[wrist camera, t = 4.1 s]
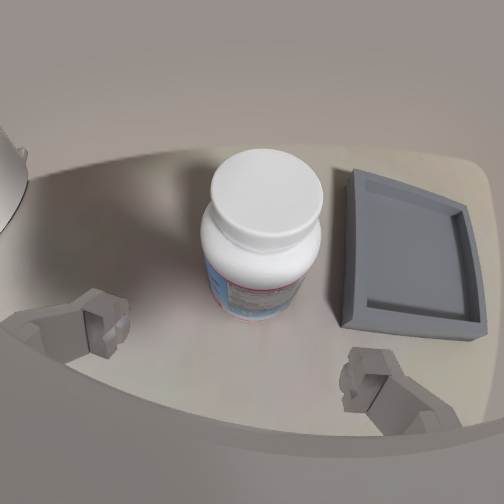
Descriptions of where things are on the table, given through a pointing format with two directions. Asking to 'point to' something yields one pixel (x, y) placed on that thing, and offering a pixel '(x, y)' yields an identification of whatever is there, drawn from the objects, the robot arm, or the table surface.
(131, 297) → the table surface
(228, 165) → the pill bottle
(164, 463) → the robot arm
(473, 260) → the tray
